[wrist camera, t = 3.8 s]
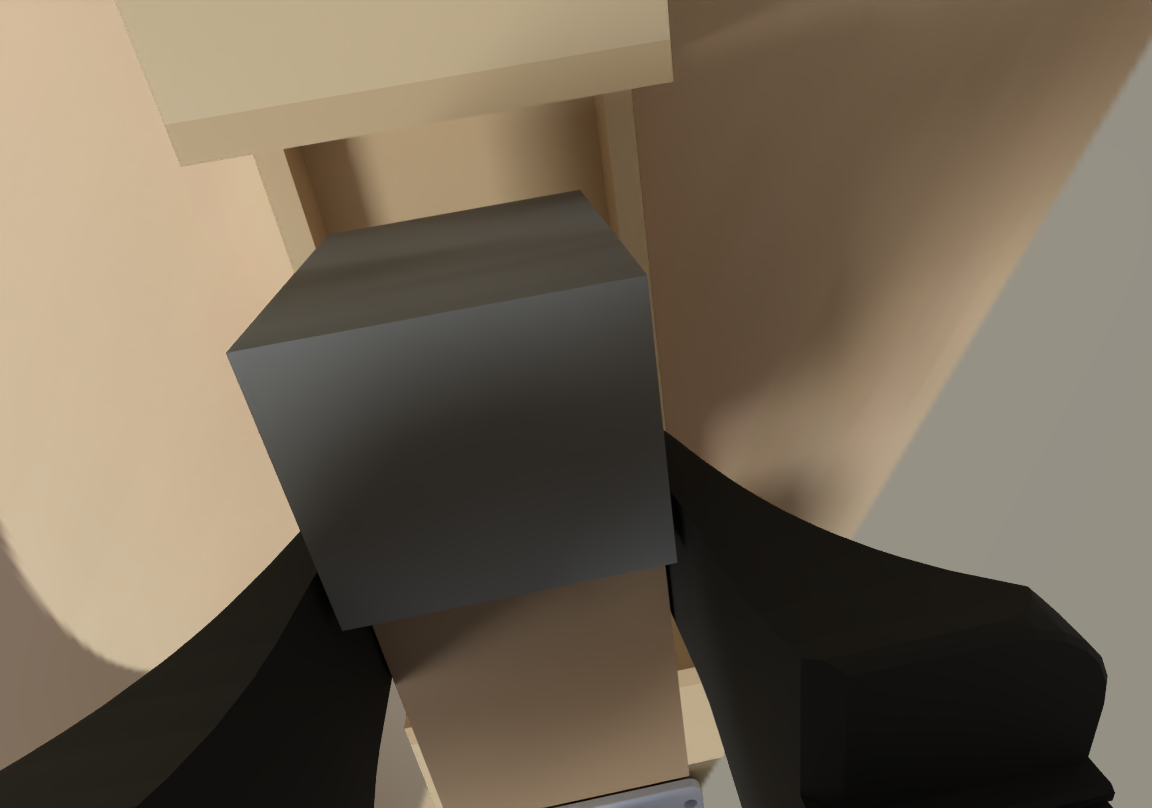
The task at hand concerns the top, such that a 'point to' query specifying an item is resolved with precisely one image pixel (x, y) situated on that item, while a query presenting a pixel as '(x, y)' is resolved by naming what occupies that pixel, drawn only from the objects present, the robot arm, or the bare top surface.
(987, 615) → the robot arm
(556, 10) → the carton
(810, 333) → the top surface
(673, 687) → the box
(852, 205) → the top surface
